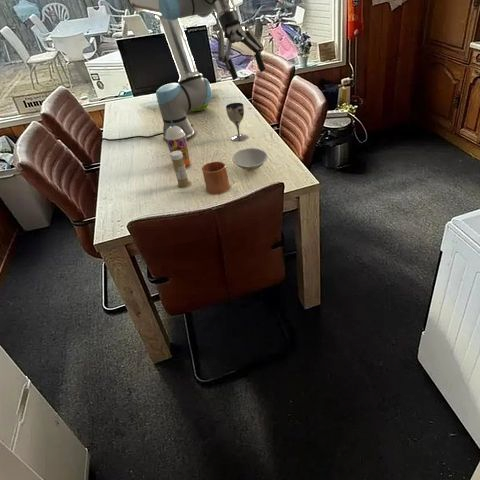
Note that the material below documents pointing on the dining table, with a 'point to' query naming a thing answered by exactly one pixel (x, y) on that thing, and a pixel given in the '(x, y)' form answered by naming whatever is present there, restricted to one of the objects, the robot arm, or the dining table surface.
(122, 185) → the dining table surface
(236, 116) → the wine glass
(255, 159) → the dish
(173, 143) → the smoothie
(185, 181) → the sprinkles bottle
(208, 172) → the tumbler
